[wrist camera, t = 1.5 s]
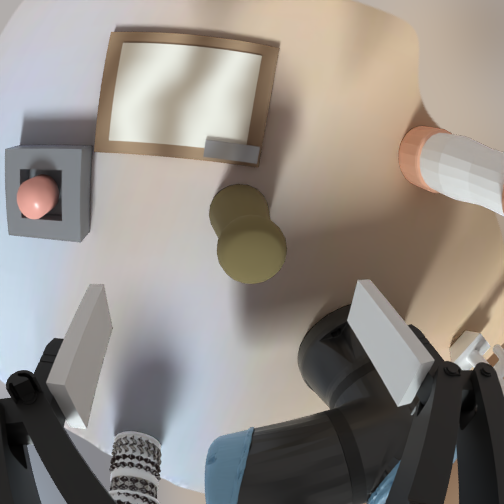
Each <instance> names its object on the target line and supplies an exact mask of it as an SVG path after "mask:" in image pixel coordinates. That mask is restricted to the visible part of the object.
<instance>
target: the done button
mask: <svg viewBox="0 0 504 504" xmlns="http://www.w3.org/2000/svg"><path fill="white" fill-rule="evenodd" d="M58 199H59V189H58V186H57V184H56V182H55V180H54V179H53V178H52V177H50V176H48V175H45V174H40V175H37V176H35V177H33V178H31V179H29V180H26V181H25V182H23V183H22V184H21V185H20V187H19V189H18V192H17V204H18V207H19V209H20V211H21V212H22V213H23V215H25V216H26V217H27V218H30V219H39V218H41V217H42V216H44V215H45V214H46V213H48V212H49V211H50V210H52V209H53V208H54V207H55V206H56V204H57V202H58Z"/></svg>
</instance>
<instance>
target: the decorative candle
mask: <svg viewBox="0 0 504 504" xmlns="http://www.w3.org/2000/svg"><path fill="white" fill-rule="evenodd" d="M114 441H115V442H114V445H113V448H114V449H113V450H112V451H113V452H112V455H113V458H112V459H111V464H112V465H111V466H110V471H111V477H110V480H111V486H110V491H109V492H108V493H109V494H110V495H111V496H112V498H113V499H114V500H115V501H116V503H117V504H160V502H159V501H158V500H157V490H158V482H159V480H160V479H161V478H160V474H159V473H160V472H161V470H160V464H161V459H160V457H161V444H160V443H159V441H158V440H156V439H155V438H154V437H152V436H150V435H147V434H145V433H141V432H135V431H124V432H121V433H118V434H117V435H116V436H115V438H114Z"/></svg>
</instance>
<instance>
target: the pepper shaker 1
mask: <svg viewBox="0 0 504 504" xmlns="http://www.w3.org/2000/svg"><path fill="white" fill-rule="evenodd" d="M209 217H210V221H211V225H212V227H213V229H214V231H215V233H216V234H217V236H218V238H219V239H218V244H217V255H218V260H219V264H220V265H221V267H222V268H223V270H224V271H225V272H226V274H227V275H229V276H230V277H231V278H233V279H234V280H236V281H239V282H241V283H247V284H256V283H260V282H264V281H266V280H268V279H270V278H272V277H273V276H274V275H275V274H276V273H277V272H278V271H279V270H280V269H281V267H282V265H283V264H284V262H285V258H286V253H287V247H286V240H285V237H284V235H283V233H282V232H281V230H280V228H279V227H278V226H277V225H276V224H275V223H274V222H272V221H271V219H270V214H269V209H268V204H267V202H266V200H265V198H264V196H263V195H262V194H261V193H260V192H259V191H258V190H257V189H255V188H253V187H251V186H249V185H243V184H236V185H231V186H228V187H226V188H224V189H223V190H221V191H220V192H219V193H218V194H217V195H216V196H215V197H214V199H213V201H212V203H211V205H210V211H209Z"/></svg>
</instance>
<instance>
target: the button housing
mask: <svg viewBox="0 0 504 504" xmlns="http://www.w3.org/2000/svg"><path fill="white" fill-rule="evenodd" d="M91 158H92V146H81V145H19V146H15V147H11V148H8V149H5V190H6V209H7V222H8V232H9V235H14V236H23V237H33V238H43V239H52V240H62V241H72V242H81V241H82V240H83V239H84V238H85V237H86V236H87V234H88V233H89V232H90V178H91ZM40 174H45V175H48V176H50V177H52V178H53V179H54V180H55V182H56V184H57V186H58V189H59V199H58V202H57V204H56V206H55V207H54V208H53V209H52V210H50V211H49V212H48V213H46V214H45V215H44V216H42V217H41V218H39V219H30V218H27V217H26V216H25V215H23V213H22V212H21V211H20V209H19V207H18V204H17V192H18V189H19V187H20V185H21V184H22V183H23V182H25V181H26V180H29V179H31V178H33V177H35V176H37V175H40Z"/></svg>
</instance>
